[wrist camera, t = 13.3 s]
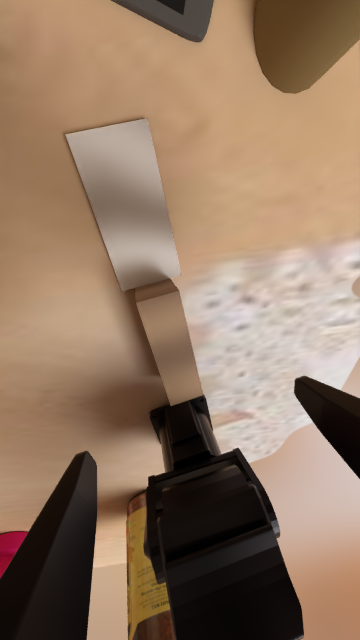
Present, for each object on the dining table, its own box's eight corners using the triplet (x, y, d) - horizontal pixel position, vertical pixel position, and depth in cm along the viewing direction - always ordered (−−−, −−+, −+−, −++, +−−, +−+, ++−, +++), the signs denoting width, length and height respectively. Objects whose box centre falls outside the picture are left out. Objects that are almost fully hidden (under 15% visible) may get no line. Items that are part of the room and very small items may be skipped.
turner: (200, 364, 23) (213, 391, 19) (154, 379, 22) (159, 409, 19) (146, 121, 13) (153, 86, 10) (67, 137, 13) (44, 106, 9)
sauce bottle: (117, 503, 29) (101, 923, 12) (156, 481, 29) (198, 873, 12) (142, 518, 32) (160, 871, 15) (178, 499, 32) (238, 831, 15)
